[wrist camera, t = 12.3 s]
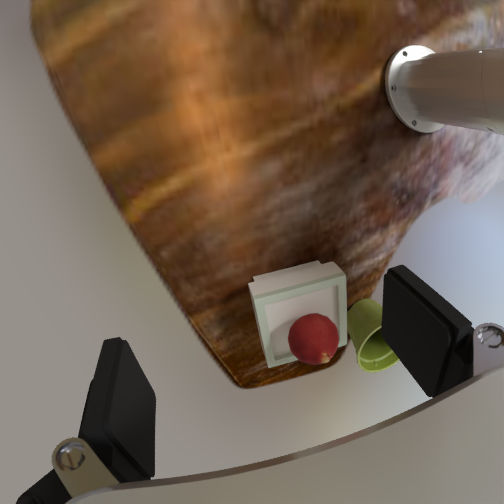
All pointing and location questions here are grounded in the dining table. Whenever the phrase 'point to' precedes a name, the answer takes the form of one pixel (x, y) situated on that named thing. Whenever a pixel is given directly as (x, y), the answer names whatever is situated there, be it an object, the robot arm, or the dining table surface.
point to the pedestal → (297, 304)
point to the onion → (313, 339)
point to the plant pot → (369, 336)
